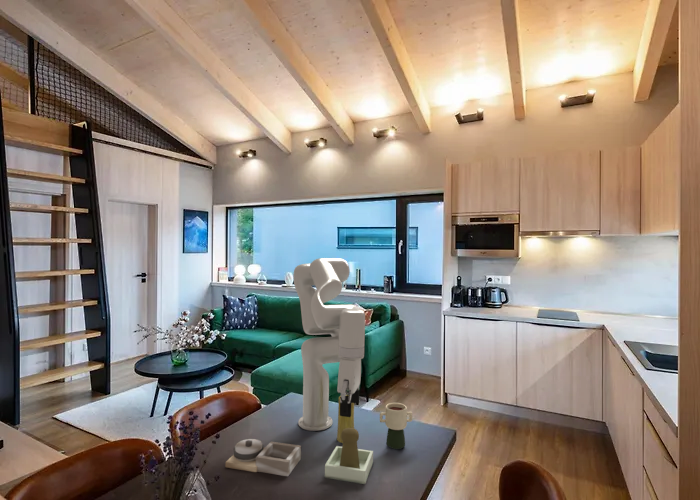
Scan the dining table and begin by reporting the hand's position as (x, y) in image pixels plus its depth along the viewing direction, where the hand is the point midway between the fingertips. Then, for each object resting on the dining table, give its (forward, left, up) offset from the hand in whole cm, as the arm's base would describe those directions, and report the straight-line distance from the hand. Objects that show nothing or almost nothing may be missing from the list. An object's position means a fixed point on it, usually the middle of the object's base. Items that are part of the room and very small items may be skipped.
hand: (349, 409), depth 116 cm
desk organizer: (+4, -25, -17) cm, 31 cm away
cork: (0, 0, -17) cm, 17 cm away
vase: (-17, -6, -18) cm, 25 cm away
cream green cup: (-17, +11, -18) cm, 27 cm away
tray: (+1, 0, -17) cm, 17 cm away
